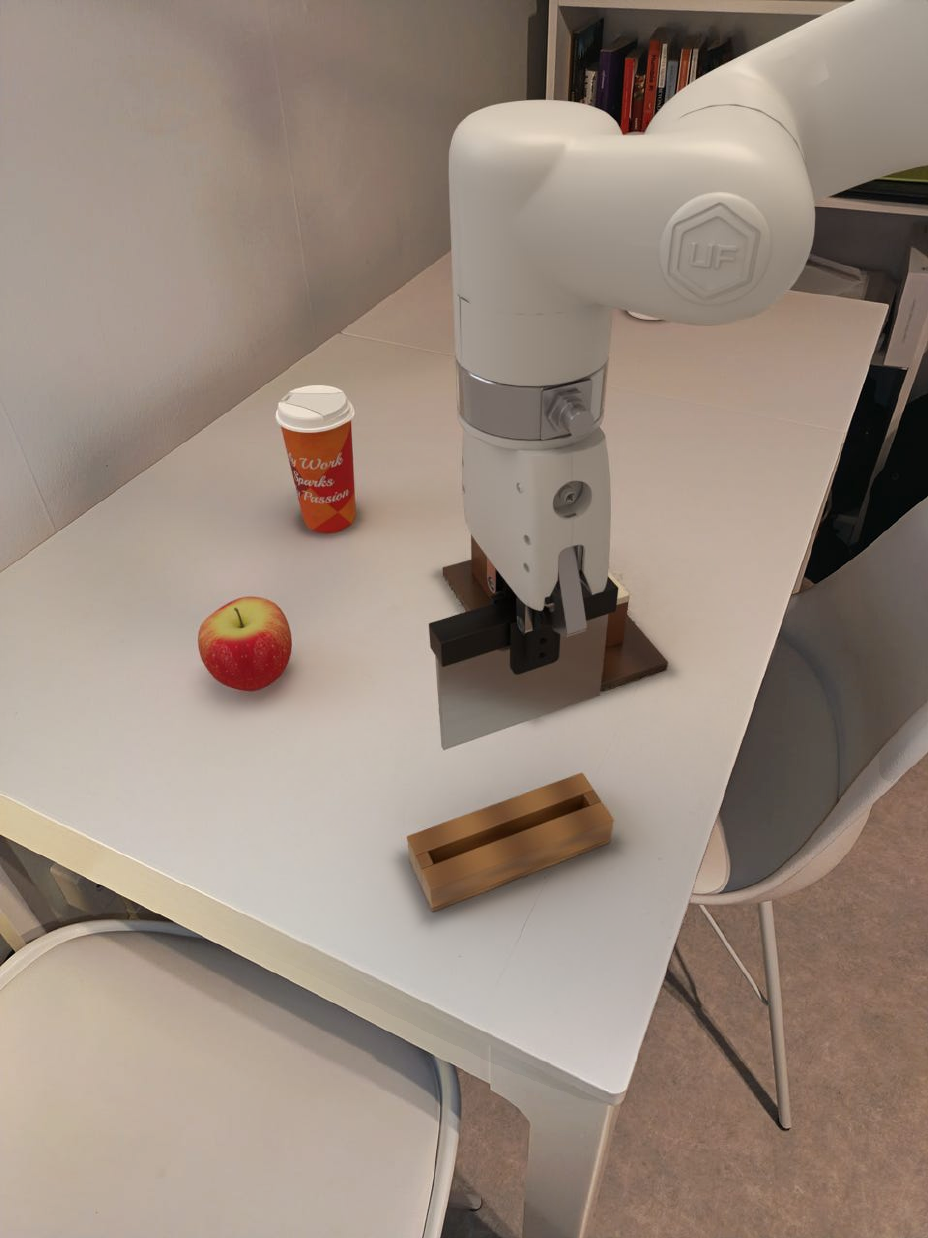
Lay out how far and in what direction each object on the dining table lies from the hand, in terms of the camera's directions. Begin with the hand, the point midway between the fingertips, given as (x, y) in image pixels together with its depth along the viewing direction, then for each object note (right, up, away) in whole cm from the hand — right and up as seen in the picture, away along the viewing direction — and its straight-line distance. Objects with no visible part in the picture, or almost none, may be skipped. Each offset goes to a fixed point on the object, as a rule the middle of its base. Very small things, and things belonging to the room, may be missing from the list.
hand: (524, 650), depth 57 cm
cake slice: (+7, 0, +28) cm, 29 cm away
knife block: (0, -16, +12) cm, 20 cm away
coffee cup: (-19, +14, +46) cm, 52 cm away
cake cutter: (0, -5, +4) cm, 7 cm away
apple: (-24, -4, +27) cm, 36 cm away
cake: (+4, +3, +33) cm, 33 cm away
